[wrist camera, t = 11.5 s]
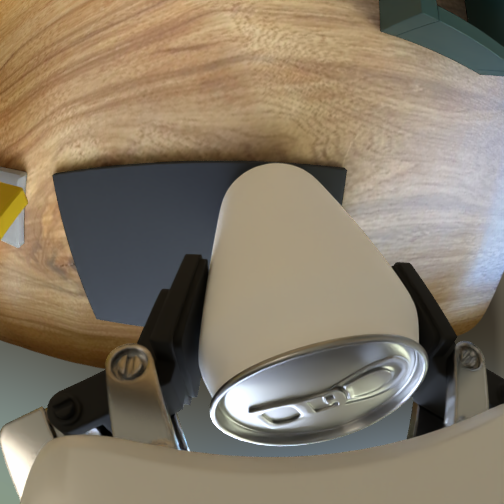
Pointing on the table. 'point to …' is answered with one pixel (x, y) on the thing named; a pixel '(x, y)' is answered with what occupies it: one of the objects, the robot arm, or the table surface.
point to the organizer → (451, 30)
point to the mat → (148, 225)
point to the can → (302, 317)
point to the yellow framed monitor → (12, 206)
